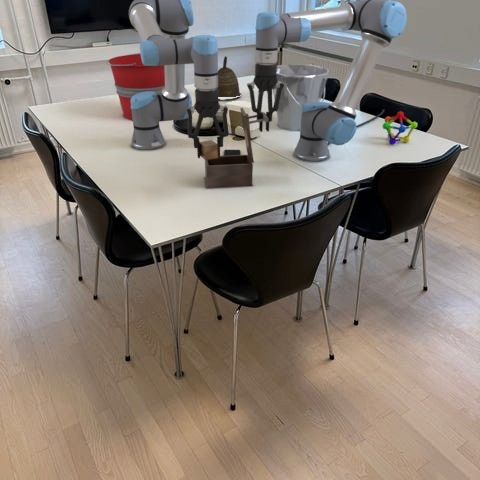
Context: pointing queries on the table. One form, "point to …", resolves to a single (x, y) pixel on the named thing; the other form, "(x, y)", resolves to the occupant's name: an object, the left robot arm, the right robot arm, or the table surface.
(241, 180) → the chest
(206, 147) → the block
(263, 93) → the right robot arm
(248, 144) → the lid
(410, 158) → the table surface
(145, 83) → the bucket
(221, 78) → the bell
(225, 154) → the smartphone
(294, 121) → the bucket
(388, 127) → the educational toy
